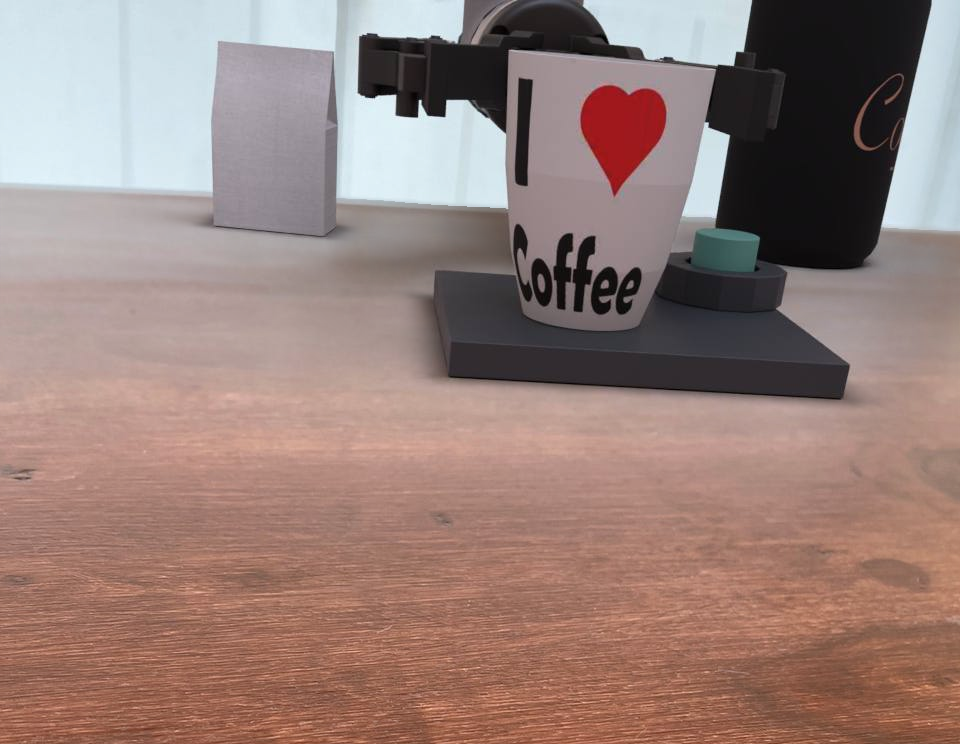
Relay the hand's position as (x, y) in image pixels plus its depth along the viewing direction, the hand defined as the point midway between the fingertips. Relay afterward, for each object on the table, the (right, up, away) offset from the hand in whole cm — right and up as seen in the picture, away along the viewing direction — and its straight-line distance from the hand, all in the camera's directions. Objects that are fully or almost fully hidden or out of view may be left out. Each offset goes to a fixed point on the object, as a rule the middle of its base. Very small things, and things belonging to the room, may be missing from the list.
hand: (602, 94), depth 49 cm
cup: (-1, -9, +2) cm, 9 cm away
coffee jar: (+16, +3, +31) cm, 35 cm away
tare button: (+6, -5, +7) cm, 11 cm away
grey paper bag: (-18, +3, +24) cm, 30 cm away
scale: (+1, -9, +4) cm, 10 cm away
